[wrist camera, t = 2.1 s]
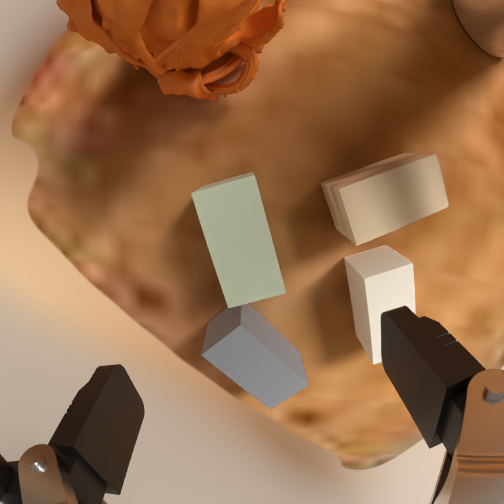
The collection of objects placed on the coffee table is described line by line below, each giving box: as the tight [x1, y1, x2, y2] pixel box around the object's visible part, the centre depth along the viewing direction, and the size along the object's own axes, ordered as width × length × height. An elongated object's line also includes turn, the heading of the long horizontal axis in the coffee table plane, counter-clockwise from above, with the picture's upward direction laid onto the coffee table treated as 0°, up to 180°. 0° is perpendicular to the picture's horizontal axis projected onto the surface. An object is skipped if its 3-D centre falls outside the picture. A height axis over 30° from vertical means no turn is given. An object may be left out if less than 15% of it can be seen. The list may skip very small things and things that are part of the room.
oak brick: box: [321, 153, 449, 246], centre depth 21 cm, size 8×4×5 cm, turn 112°
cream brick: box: [344, 245, 415, 365], centre depth 24 cm, size 8×4×5 cm, turn 16°
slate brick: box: [201, 303, 309, 409], centre depth 25 cm, size 8×4×5 cm, turn 42°
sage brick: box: [191, 172, 286, 308], centre depth 22 cm, size 8×4×5 cm, turn 15°
